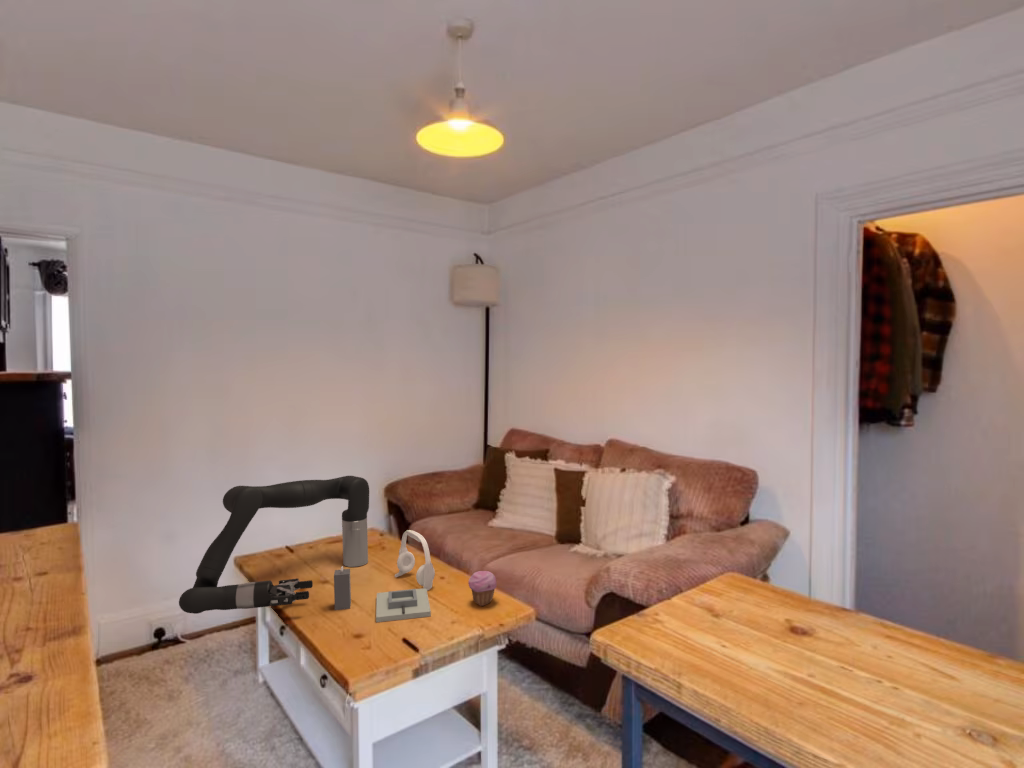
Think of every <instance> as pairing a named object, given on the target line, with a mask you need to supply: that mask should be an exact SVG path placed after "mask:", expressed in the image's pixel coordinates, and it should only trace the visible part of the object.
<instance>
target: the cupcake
mask: <svg viewBox="0 0 1024 768" xmlns="http://www.w3.org/2000/svg"><path fill="white" fill-rule="evenodd" d="M468 586H469V587H468V588H469V589H470V590H471V596H472V599H473V602H474V603H475V604H477V605H479V606H480V607H484V606H486V605H488V604H490V603H491V601H492V600H493V599H494V596H495V589H496V588H497V578H496V576H495V574H494V573H492V572H491V571H488V570H479V571H475V572H473V574H472V575H471V576H470V577H469V578H468Z"/></svg>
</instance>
